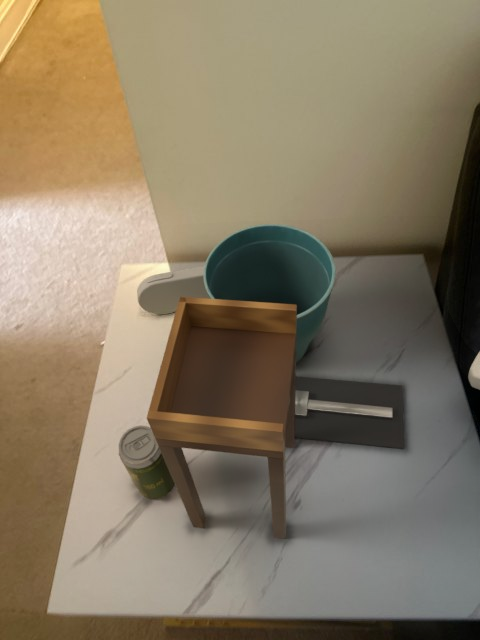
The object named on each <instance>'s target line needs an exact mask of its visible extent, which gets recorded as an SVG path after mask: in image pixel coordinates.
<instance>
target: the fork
mask: <svg viewBox="0 0 480 640" xmlns="http://www.w3.org/2000/svg"><path fill="white" fill-rule="evenodd" d="M308 397H309V391H299V390H296V400H295V418H304V419H306V418H307V411H309V412H319V413H329V414H338V415H348V416H358V417H367V418H377V419H387V420H392V418H393V408H389V407H379V406H369V405H359V404H349V403H339V402H329V401H319V400H309V399H308Z"/></svg>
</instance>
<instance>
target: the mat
mask: <svg viewBox="0 0 480 640" xmlns="http://www.w3.org/2000/svg"><path fill="white" fill-rule="evenodd" d="M296 390H299V391H309V397H308V399H309V400H319V401H329V402H339V403H349V404H359V405H369V406H379V407H389V408H393V418H392V420H387V419H377V418H367V417H358V416H348V415H338V414H329V413H319V412H309V411H307V418H306V419H304V418H295V439H300V440H301V439H302V440H311V441H321V442H329V443H331V442H332V443H340V444H350V445H360V446H369V447H377V448H378V447H379V448H387V449H389V448H390V449H398V450H405V426H404V425H405V424H404V423H405V422H404V395H403V394H404V391H403V390H404V389H403V385H398V384H389V383H378V382H376V383H375V382H368V381H367V382H366V381H355V380H343V379H331V378H319V377H310V376H298V375H296Z"/></svg>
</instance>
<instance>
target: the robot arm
mask: <svg viewBox="0 0 480 640" xmlns="http://www.w3.org/2000/svg"><path fill="white" fill-rule="evenodd" d="M467 379H468V382H469V384H470V386H471V387H472V388H474V389H477V390H479V391H480V350H479V352H478V353H477V355H475V358H474V360H473V362H472V363H471V365H470V368H469V371H468V376H467Z"/></svg>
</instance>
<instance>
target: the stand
mask: <svg viewBox="0 0 480 640" xmlns="http://www.w3.org/2000/svg"><path fill="white" fill-rule="evenodd" d="M296 331H297V305H294V304H280V303H265V302H251V301H236V300H222V299H207V298H192V297H180V298H179V301H178V305H177V309H176V311H175V312H174V316H173V321H172V324H171V328H170V331H169V334H168V338H167V341H166V346H165V349H164V353H163V356H162V360H161V364H160V368H159V372H158V374H157V377H156V382H155V386H154V389H153V394H152V397H151V401H150V403H149V404H150V405H149V407H148V412H147V415H146V420H147V422H148V423H147V424H148V425H149V427H150V428H151V430H152V432H153V434H154V437H155V439H156V441H157V444H158V446H159V448H160V451H161V453H162V455H163V458H164V460H165V462H166V465H167V467H168V469H169V472H170V474H171V476H172V479H173V481H174V483H175V485H174V487H175V488H176V490H177V493H178V495H179V498H180V500H181V502H182V504H183V507H184V509H185V511H186V514H187V516H188V518H189V520H190V523H191V525H192V527H193V528H197V529H205V527H206V521H207V515H206V513H205V509H204V506H203V503H202V501H201V498H200V495H199V493H198V490H197V487H196V485H195V481H194V479H193V476H192V473H191V470H190V467H189V465H188V462H187V459H186V456H185V453H184V451H183V449H189V450H199V451H208V452H215V453H225V454H236V455H244V456H245V455H246V456H254V457H263V458H267V469H268V480H269V481H268V483H269V494H270V507H271V520H272V533H273V538H275V539H282V540H286V536H287V484H286V483H287V482H286V481H287V480H286V479H287V477H286V448H295V442H296V438H295V400H296V376H297V362H296Z"/></svg>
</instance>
